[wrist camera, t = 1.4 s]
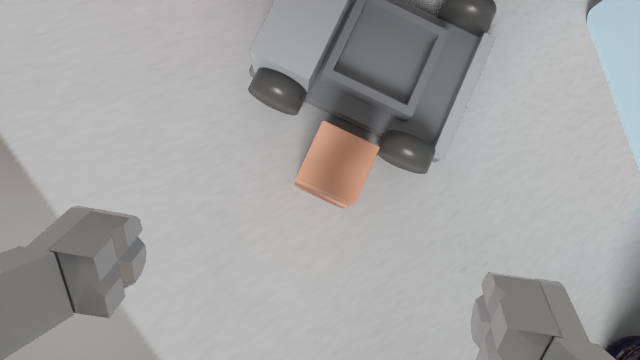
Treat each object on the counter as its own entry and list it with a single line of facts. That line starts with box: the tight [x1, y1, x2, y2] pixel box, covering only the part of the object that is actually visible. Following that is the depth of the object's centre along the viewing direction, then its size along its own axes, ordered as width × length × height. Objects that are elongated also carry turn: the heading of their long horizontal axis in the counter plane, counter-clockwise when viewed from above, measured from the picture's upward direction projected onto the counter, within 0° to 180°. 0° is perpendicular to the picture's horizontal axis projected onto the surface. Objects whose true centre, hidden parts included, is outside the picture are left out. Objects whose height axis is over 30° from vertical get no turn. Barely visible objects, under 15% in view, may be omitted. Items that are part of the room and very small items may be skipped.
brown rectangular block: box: [295, 121, 380, 208], centre depth 38 cm, size 5×5×8 cm
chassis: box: [248, 0, 496, 174], centre depth 40 cm, size 20×17×6 cm
